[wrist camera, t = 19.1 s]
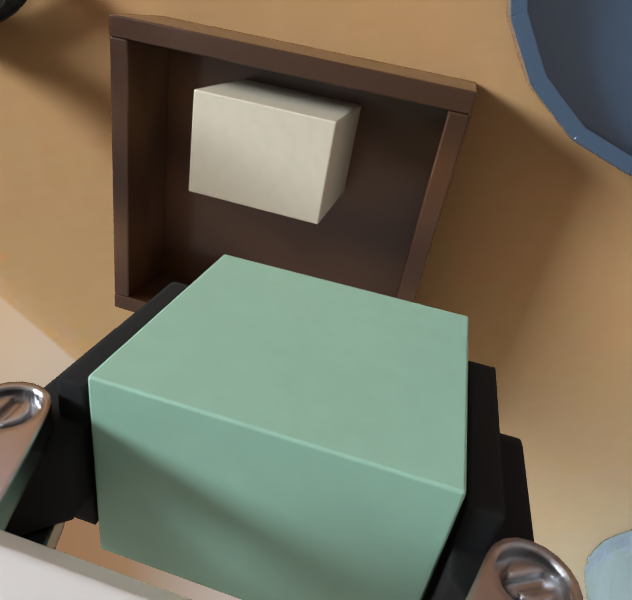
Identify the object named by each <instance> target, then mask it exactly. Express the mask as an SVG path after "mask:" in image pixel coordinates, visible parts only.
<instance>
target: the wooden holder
mask: <svg viewBox="0 0 632 600" xmlns="http://www.w3.org/2000/svg"><path fill="white" fill-rule="evenodd" d="M110 35H111V37H110V55H111V107H112V159H113V211H114V263H115V306H116V307H119V308H123V309H126V310H129V311H132V312H136V311H138V310H139V309H140V308H141V307H142V306H144V305H145V304H146V303H147V302H148V301H150V300H151V299H152V298H153V297H154V296H156V295H157V294H158V293H159V292H161V291H162V290H163V289H164V288H165V287H167V286H168V285H169V284H170V283H172V282H178V283H181V284H185V285H189V286H190V285H191V284H192V283H193V282H194V281H195V280H196V279H197V278H198V277H200V276H201V275H202V274H203V273H204V272H205V271H206V270H207V269H209V268H210V267H211V266H212V265H213V264H214V263H215V262H216V261H217V260H219V259H220V258H221V257H222V256H223V255H229V256H233V257H237V258H241V259H245V260H249V261H253V262H257V263H261V264H265V265H269V266H272V267H276V268H280V269H284V270H288V271H292V272H296V273H300V274H304V275H308V276H312V277H315V278H319V279H323V280H327V281H331V282H335V283H339V284H343V285H347V286H351V287H355V288H358V289H362V290H366V291H370V292H374V293H378V294H382V295H386V296H390V297H394V298H398V299H401V300H405V301H409V302H413V303H414V300H415V296H416V293H417V290H418V287H419V283H420V280H421V277H422V273H423V270H424V267H425V263H426V260H427V257H428V254H429V250H430V247H431V244H432V240H433V237H434V234H435V230H436V227H437V224H438V221H439V217H440V214H441V211H442V207H443V204H444V201H445V197H446V194H447V191H448V187H449V184H450V181H451V178H452V174H453V171H454V168H455V164H456V161H457V158H458V154H459V151H460V148H461V145H462V141H463V138H464V135H465V131H466V128H467V125H468V121H469V118H470V114H471V112H472V108H473V105H474V102H475V98H476V95H477V89H476V82H473V81H468V80H463V79H459V78H454V77H449V76H444V75H440V74H435V73H430V72H425V71H421V70H416V69H411V68H406V67H402V66H397V65H392V64H387V63H383V62H378V61H373V60H368V59H364V58H359V57H354V56H349V55H345V54H340V53H335V52H330V51H326V50H321V49H316V48H312V47H307V46H302V45H297V44H293V43H288V42H283V41H278V40H274V39H269V38H264V37H259V36H255V35H250V34H245V33H240V32H236V31H231V30H226V29H221V28H217V27H212V26H207V25H202V24H198V23H193V22H188V21H183V20H179V19H174V18H169V17H165V16H152V15H130V14H110ZM241 79H247V80H251V81H256V82H260V83H265V84H269V85H274V86H278V87H283V88H287V89H292V90H296V91H301V92H305V93H309V94H314V95H318V96H323V97H327V98H332V99H336V100H341V101H345V102H350V103H354V104H359V105H361V111H360V115H359V120H358V125H357V130H356V135H355V140H354V145H353V150H352V155H351V160H350V165H349V170H348V175H347V180H346V184H345V189H344V192H343V193H342V194H341V196H340V197H339V198H338V199H337V201H336V202H335V203H334V204H333V206H332V207H331V208H330V209H329V211H328V212H327V213H326V214H325V216H324V217H323V218H322V219H321V221H320V222H319V223H318V224H314V223H310V222H306V221H302V220H299V219H295V218H291V217H287V216H283V215H279V214H276V213H272V212H268V211H264V210H260V209H256V208H253V207H249V206H245V205H241V204H237V203H233V202H230V201H226V200H222V199H218V198H214V197H210V196H207V195H203V194H199V193H195V192H191V191H189V176H190V157H191V138H192V120H193V101H194V90H195V89H199V88H204V87H208V86H213V85H218V84H222V83H227V82H232V81H236V80H241Z"/></svg>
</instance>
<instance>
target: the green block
mask: <svg viewBox="0 0 632 600" xmlns="http://www.w3.org/2000/svg"><path fill="white" fill-rule="evenodd" d="M468 331H469V318H468V317H467V316H464V315H460V314H456V313H452V312H448V311H444V310H441V309H437V308H433V307H429V306H425V305H421V304H417V303H413V302H409V301H405V300H401V299H398V298H394V297H390V296H386V295H382V294H378V293H374V292H370V291H366V290H362V289H358V288H355V287H351V286H347V285H343V284H339V283H335V282H331V281H327V280H323V279H319V278H315V277H312V276H308V275H304V274H300V273H296V272H292V271H288V270H284V269H280V268H276V267H272V266H269V265H265V264H261V263H257V262H253V261H249V260H245V259H241V258H237V257H233V256H229V255H223V256H222V257H221V258H220V259H219V260H217V261H216V262H215V263H214V264H213V265H212V266H211V267H210V268H209V269H207V270H206V271H205V272H204V273H203V274H202V275H201V276H200V277H198V278H197V279H196V280H195V281H194V282H193V283H192V284H191V285H190V286H188V287H187V288H186V289H185V290H184V291H183V292H182V293H181V294H180V295H178V296H177V297H176V298H175V299H174V300H173V301H172V302H171V303H169V304H168V305H167V306H166V307H165V308H164V309H163V310H162V311H161V312H159V313H158V314H157V315H156V316H155V317H154V318H153V319H152V320H151V321H149V322H148V323H147V324H146V325H145V326H144V327H143V328H142V329H141V330H139V331H138V332H137V333H136V334H135V335H134V336H133V337H132V338H130V339H129V340H128V341H127V342H126V343H125V344H124V345H123V346H122V347H120V348H119V349H118V350H117V351H116V352H115V353H114V354H113V355H112V356H110V357H109V358H108V359H107V360H106V361H105V362H104V363H103V364H101V365H100V366H99V367H98V368H97V369H96V370H95V371H94V372H93V373H91V374H90V375H89V377H88V386H89V399H90V412H91V425H92V438H93V451H94V465H95V478H96V491H97V504H98V517H99V530H100V544H101V548H102V549H104V550H107V551H110V552H113V553H115V554H118V555H121V556H123V557H126V558H129V559H132V560H135V561H137V562H140V563H143V564H145V565H149V566H151V567H154V568H156V569H159V570H162V571H165V572H168V573H170V574H173V575H176V576H179V577H181V578H184V579H187V580H190V581H192V582H195V583H198V584H201V585H204V586H206V587H209V588H212V589H214V590H217V591H220V592H223V593H225V594H228V595H231V596H234V597H236V598H239V599H242V600H422V599H423V596H424V594H425V591H426V589H427V587H428V584H429V582H430V579H431V577H432V575H433V572H434V570H435V567H436V565H437V563H438V560H439V558H440V555H441V553H442V551H443V548H444V546H445V543H446V541H447V538H448V536H449V534H450V531H451V529H452V526H453V524H454V522H455V519H456V517H457V514H458V512H459V510H460V507H461V505H462V502H463V500H464V498H465V495H466V475H467V403H468Z"/></svg>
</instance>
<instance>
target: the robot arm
mask: <svg viewBox="0 0 632 600" xmlns="http://www.w3.org/2000/svg"><path fill="white" fill-rule="evenodd" d="M188 286H189V285H185V284H181V283H178V282H172V283H170V284H169V285H168V286H167V287H165V288H164V289H163V290H162V291H161V292H159V293H158V294H157V295H156V296H154V297H153V298H152V299H151V300H150V301H148V302H147V303H146V304H145V305H144V306H142V307H141V308H140V309H139V310H138V311H136V312H135V313H134V314H133V315H132V316H130V317H129V318H128V319H127V320H126V321H124V322H123V323H122V324H121V325H120V326H118V327H117V328H115V329H114V330H113V331H112V332H111V333H109V334H108V335H107V336H106V337H105V338H103V339H102V340H101V341H100V342H98V343H97V344H96V345H95V346H94V347H92V348H91V349H90V350H89V351H88V352H86V353H85V354H84V355H83V356H82V357H80V358H79V359H78V360H77V361H76V362H74V363H73V364H72V365H71V366H70V367H68V368H67V369H66V370H65V371H63V372H62V373H61V374H60V375H59V376H58V377H56V378H55V379H54V380H53V381H51V383H49V384H48V385H47V386H46V387H44V388H43V387H41V386H38V385H36V384H33V383H28V382H7V383H2V384H0V600H191V599H188V598H185V597H183V596H180V595H177V594H175V593H172V592H169V591H167V590H164V589H161V588H158V587H156V586H153V585H150V584H148V583H145V582H142V581H139V580H137V579H134V578H131V577H128V576H126V575H123V574H120V573H118V572H115V571H112V570H109V569H107V568H104V567H101V566H98V565H96V564H93V563H91V562H88V561H85V560H82V559H80V558H77V557H74V556H71V555H69V554H66V553H63V552H60V551H58V550H55V549H56V546H57V543H58V541H59V538H60V536H61V533H62V530H63V528H64V523H65V521H69V520H72V519H73V518H74V517H76V518H78V519H81V520H84V521H87V522H90V523H92V524H96V523H97V522H98V521H99V517H98V504H97V491H96V478H95V465H94V451H93V438H92V425H91V412H90V399H89V386H88V377H89V375H90V374H91V373H93V372H94V371H95V370H96V369H97V368H98V367H99V366H100V365H101V364H103V363H104V362H105V361H106V360H107V359H108V358H109V357H110V356H112V355H113V354H114V353H115V352H116V351H117V350H118V349H119V348H120V347H122V346H123V345H124V344H125V343H126V342H127V341H128V340H129V339H130V338H132V337H133V336H134V335H135V334H136V333H137V332H138V331H139V330H141V329H142V328H143V327H144V326H145V325H146V324H147V323H148V322H149V321H151V320H152V319H153V318H154V317H155V316H156V315H157V314H158V313H159V312H161V311H162V310H163V309H164V308H165V307H166V306H167V305H168V304H169V303H171V302H172V301H173V300H174V299H175V298H176V297H177V296H178V295H180V294H181V293H182V292H183V291H184V290H185V289H186V288H187V287H188ZM422 600H583V596H582V593H581V590H580V586H579V583H578V581H577V580H576V578H575V577H574V575H573V573H572V572H571V570H570V569H569V568H568V567H567V566H566V565H565V563H564V562H563V561H562V560H561V559H560V558H559V557H558V556H556V555H555V554H554V553H552V552H551V551H549V550H548V549H547V548H545V547H544V546H541V545H539V544H537V543H535V542H534V537H533V529H532V520H531V512H530V504H529V495H528V487H527V479H526V470H525V462H524V454H523V446H522V442H521V440H520V439H519V438H515V437H512V436H508V435H505V434H501V433H500V429H499V414H498V399H497V384H496V370H495V368H494V367H490V366H486V365H483V364H479V363H475V362H471V361H468V403H467V475H466V495H465V498H464V500H463V502H462V505H461V507H460V510H459V512H458V514H457V517H456V519H455V522H454V524H453V526H452V529H451V531H450V534H449V536H448V538H447V541H446V543H445V546H444V548H443V551H442V553H441V555H440V558H439V560H438V563H437V565H436V567H435V570H434V572H433V575H432V577H431V579H430V582H429V584H428V587H427V589H426V591H425V594H424V596H423V599H422Z"/></svg>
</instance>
